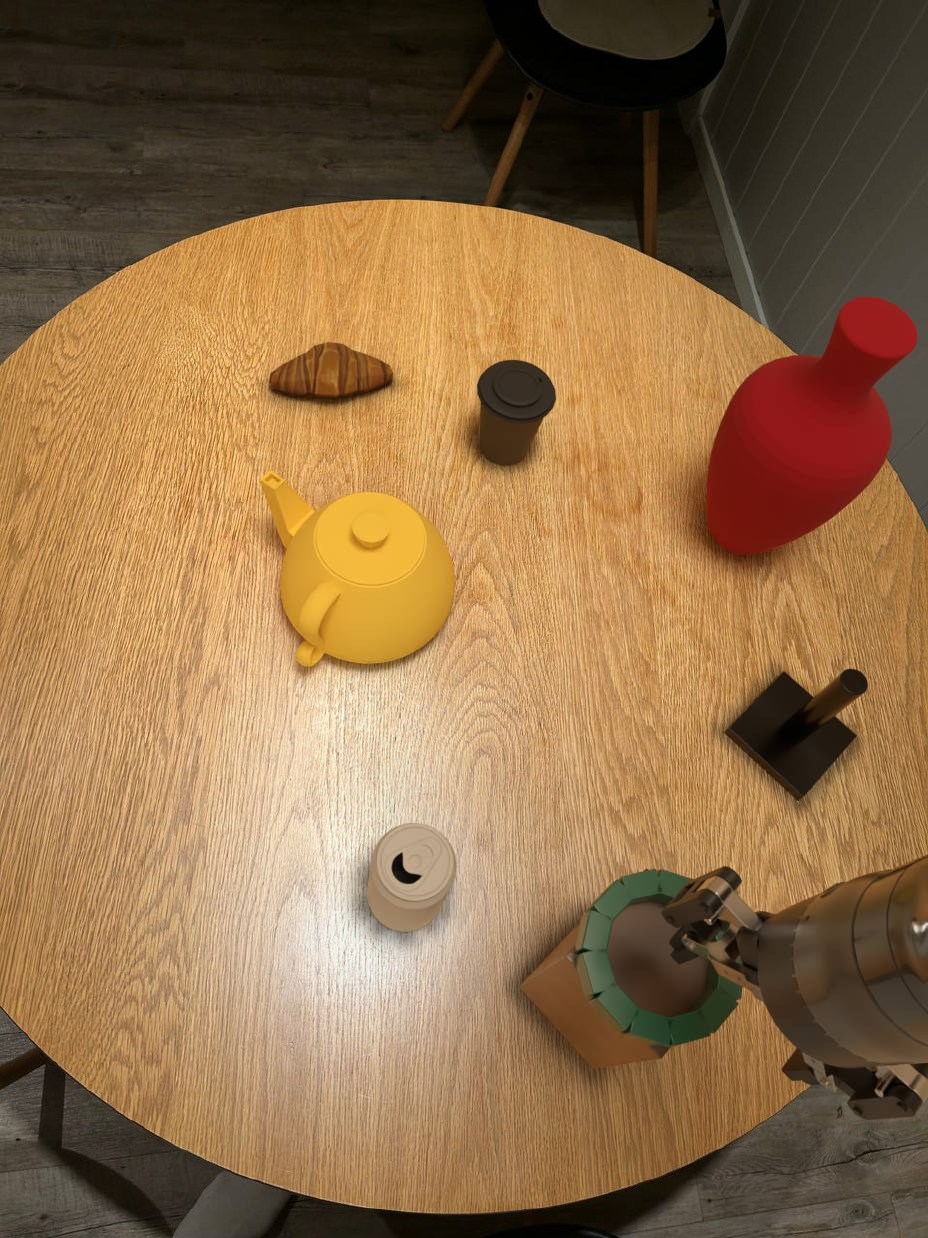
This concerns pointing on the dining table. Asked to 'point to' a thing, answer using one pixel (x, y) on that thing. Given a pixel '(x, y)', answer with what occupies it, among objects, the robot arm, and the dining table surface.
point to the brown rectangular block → (637, 971)
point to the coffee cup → (512, 409)
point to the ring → (614, 1000)
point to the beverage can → (410, 876)
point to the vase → (806, 433)
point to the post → (798, 729)
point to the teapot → (360, 574)
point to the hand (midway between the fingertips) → (738, 1004)
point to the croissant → (330, 373)
